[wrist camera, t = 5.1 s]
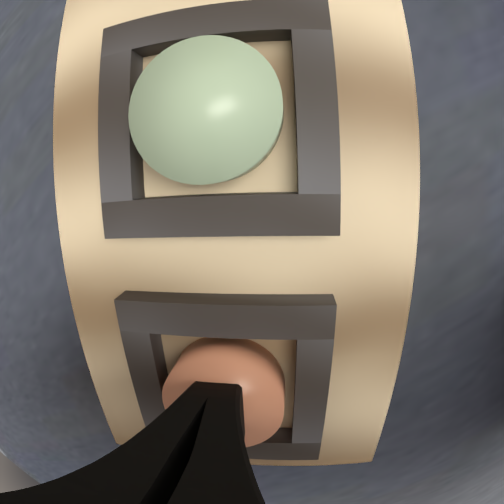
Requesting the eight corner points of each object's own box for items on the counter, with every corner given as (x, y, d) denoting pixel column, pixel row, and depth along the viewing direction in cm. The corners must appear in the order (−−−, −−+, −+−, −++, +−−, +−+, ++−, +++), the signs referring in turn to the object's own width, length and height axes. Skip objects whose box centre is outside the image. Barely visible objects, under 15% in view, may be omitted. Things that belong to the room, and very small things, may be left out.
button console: (363, 422, 13) (374, 475, 10) (136, 410, 14) (109, 454, 11) (346, -103, 7) (354, -144, 4) (119, -77, 8) (91, -108, 5)
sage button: (310, 136, 8) (314, 129, 6) (193, 208, 9) (176, 215, 7) (237, 32, 7) (227, 10, 6) (130, 104, 8) (105, 95, 7)
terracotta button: (304, 399, 10) (305, 427, 8) (216, 431, 11) (208, 457, 9) (246, 315, 9) (239, 339, 8) (155, 359, 10) (139, 383, 9)
